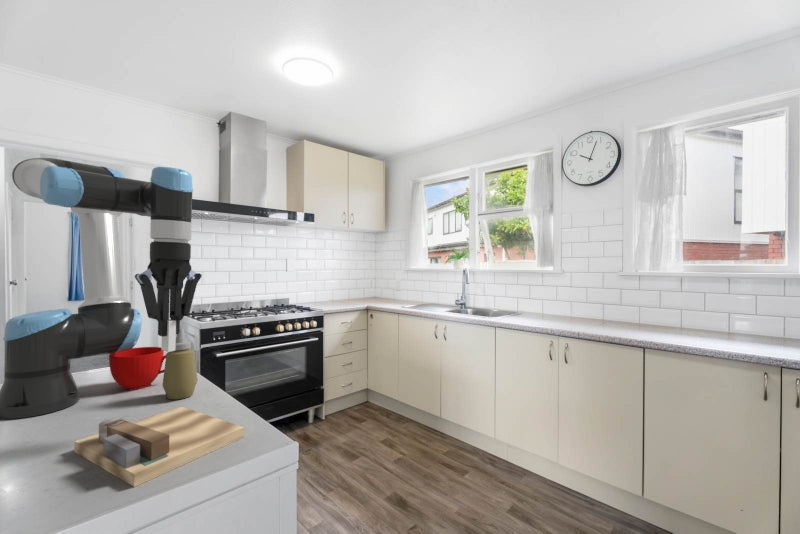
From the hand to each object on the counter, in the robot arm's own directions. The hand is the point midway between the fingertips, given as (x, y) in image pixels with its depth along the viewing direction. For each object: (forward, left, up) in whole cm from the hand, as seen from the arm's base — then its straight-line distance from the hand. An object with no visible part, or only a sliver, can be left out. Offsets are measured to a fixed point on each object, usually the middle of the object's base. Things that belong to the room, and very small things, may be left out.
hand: (168, 350), depth 81 cm
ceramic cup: (-35, +12, -17) cm, 40 cm away
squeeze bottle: (-17, +12, -17) cm, 27 cm away
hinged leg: (+8, -11, -14) cm, 20 cm away
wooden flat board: (+7, -5, -17) cm, 19 cm away
